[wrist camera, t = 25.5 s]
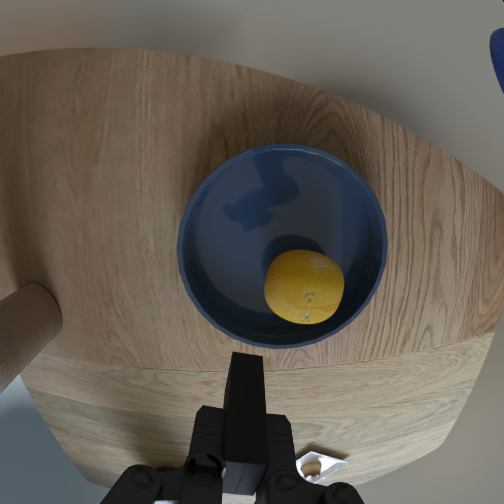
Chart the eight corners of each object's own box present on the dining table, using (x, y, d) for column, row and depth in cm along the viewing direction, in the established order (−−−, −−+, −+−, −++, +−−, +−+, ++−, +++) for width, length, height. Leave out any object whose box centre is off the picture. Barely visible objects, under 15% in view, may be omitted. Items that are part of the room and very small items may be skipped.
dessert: (311, 482, 50) (313, 497, 46) (271, 472, 49) (272, 489, 44) (348, 458, 48) (353, 474, 43) (310, 446, 46) (313, 465, 41)
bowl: (204, 132, 32) (196, 125, 27) (388, 174, 33) (407, 176, 28) (177, 311, 38) (168, 330, 33) (341, 337, 39) (352, 357, 34)
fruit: (264, 306, 37) (268, 340, 29) (260, 245, 34) (263, 266, 27) (332, 300, 36) (350, 331, 29) (333, 239, 34) (355, 258, 27)
